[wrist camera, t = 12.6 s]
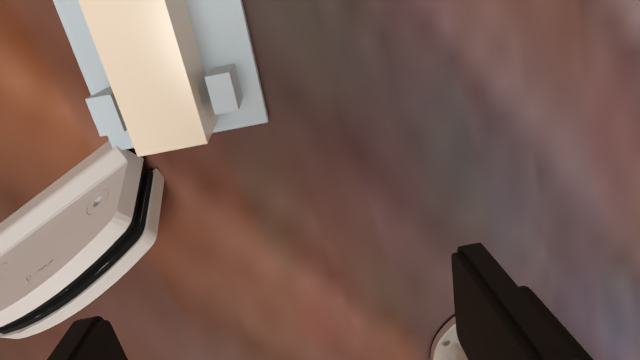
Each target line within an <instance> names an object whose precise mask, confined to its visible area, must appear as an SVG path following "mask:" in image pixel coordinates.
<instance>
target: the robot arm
mask: <svg viewBox="0 0 640 360" xmlns="http://www.w3.org/2000/svg"><path fill="white" fill-rule="evenodd" d="M452 273H453V289H454V304H455V316H454V317H453V318H452V319H451V320H449V321H448V322H447V323H446V324H445V325H444V326H443V327H442V329H441V330H440V331H439V332H438V334H437V336H436V337H435V339H434V341H433V344H432V348H431V356H430V358H431V360H593V359H592V358H591V356H590V355H589V354H588V353H587V352H586V351H585V350H584V349H583V347H582V346H581V345H580V344H579V343H578V342H577V341H576V340H575V338H574V337H573V336H572V335H571V334H570V333H569V332H568V331H567V329H566V328H565V327H564V326H563V325H562V324H561V323H560V322H559V320H558V319H557V318H556V317H555V316H554V315H553V314H552V313H551V312H550V310H549V309H548V308H547V307H546V306H545V305H544V304H543V303H542V301H541V300H540V299H539V298H538V297H537V296H536V295H535V294H534V292H533V291H532V290H531V289H529V288H528V287H526V286H520V287H518V286H517V285H516V284H515V282H514V281H513V280H512V279H511V278H510V277H509V275H508V274H507V273H506V272H505V271H504V269H503V268H502V267H501V266H500V265H499V264H498V262H497V261H496V260H495V259H494V258H493V257H492V255H491V254H490V253H489V252H488V251H487V250H486V248H485V247H484V246H483V245H482V244H481V243H475V244H470V245H464V246H459V247H458V250H457V253H453V254H452ZM47 360H128V359H127V357H126V355H125V353H124V351H123V349H122V347H121V345H120V342H119V340H118V338H117V336H116V334H115V332H114V330H113V328H112V325H111V324H110V322H109V321H107V320H104V319H103V318H102V317H100V316H96V317H91V318H86V319H80V320H77V321H75V322H74V323H73V324H72V325H71V327H70V328H69V329H68V331H67V332H66V334H65V335H64V336H63V338H62V339H61V341H60V342H59V344H58V345H57V346H56V348H55V349H54V351H53V352H52V354H51V355H50V356H49V358H48V359H47Z"/></svg>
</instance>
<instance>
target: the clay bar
mask: <svg viewBox="0 0 640 360" xmlns="http://www.w3.org/2000/svg"><path fill="white" fill-rule="evenodd" d="M78 1H79V4H80V7H81V9H82V12H83V14H84V17H85V20H86V22H87V25H88V28H89V30H90V33H91V36H92V38H93V41H94V43H95V46H96V49H97V51H98V54H99V57H100V59H101V62H102V64H103V67H104V70H105V72H106V75H107V78H108V80H109V83H110V86H111V88H112V91H113V93H114V96H115V99H116V101H117V104H118V107H119V109H120V112H121V114H122V117H123V120H124V122H125V125H126V128H127V130H128V133H129V136H130V138H131V141H132V143H133V146H134V149H135V151H136V154H137V157H140V156H145V155H150V154H156V153H161V152H166V151H171V150H176V149H182V148H187V147H192V146H197V145H203V144H207V143H208V141H209V139H210V137H211V135H212V133H213V131H214V128H215V126H216V124H217V122H218V118H217V115H215V113H214V110H213V106H212V103H211V99H210V96H209V92H208V88H207V85H206V81H205V78H204V77H205V76H206V75H205V71H204V68H203V64H202V61H201V57H200V53H199V50H198V46H197V43H196V39H195V36H194V32H193V28H192V25H191V21H190V18H189V14H188V11H187V7H186V3H185V0H78Z"/></svg>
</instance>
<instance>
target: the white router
mask: <svg viewBox="0 0 640 360" xmlns="http://www.w3.org/2000/svg"><path fill="white" fill-rule="evenodd" d="M143 161H144V158H142V157H137V155H136V154H134V153H132V152H130V151H128V150H127V149H125V150H122V149H120V148H119V147H118V146H117V145H116V146H115V147H114V148H112V146H111V143H110V141H108V142H106V143H105V144H104V145H102V146H101V147H100V148H99V149H97V150H96V151H95V152H93V153H92V154H91V155H89V156H88V157H87V158H85V159H84V160H83V161H81V162H80V163H79V164H78V165H76V166H75V167H74V168H72V169H71V170H70V171H68V172H67V173H66V174H64V175H63V176H62V177H60V178H59V179H58V180H56V181H55V182H54V183H53V184H51V185H50V186H49V187H47V188H46V189H45V190H43V191H42V192H41V193H39V194H38V195H37V196H35V197H34V198H33V199H31V200H30V201H29V202H28V203H26V204H25V205H24V206H22V207H21V208H20V209H18V210H17V211H16V212H14V213H13V214H12V215H10V216H9V217H8V218H7V219H5V220H4V221H3V222H1V223H0V337H1V338H14V339H20V338H24V337H28V336H31V335H34V334H37V333H40V332H42V331H44V330H46V329H49V328H51V327H53V326H54V325H56V324H58V323H60V322H62V321H64V320H65V319H67V318H69V317H70V316H72V315H73V314H75V313H76V312H78V311H80V310H81V309H82V308H84V307H85V306H86V305H88V304H89V303H91V302H92V301H93V300H95V299H96V298H97V297H98V296H100V295H101V294H102V293H103V292H105V291H106V290H107V289H108V288H109V287H110V286H112V285H113V284H114V283H115V282H116V281H117V280H119V279H120V278H121V277H122V276H123V275H124V274H125V273H126V272H127V271H128V270H129V269H130V268H131V267H132V266H133V265H134V264H135V263H136V262H137V261H138V260H139V259H140V258H141V257H142V256H143V255H144V254H145V253H146V252H147V251H148V250H149V249H150V248H151V247H152V245H153V244H154V242H155V240H156V238H157V233H158V225H159V218H160V210H161V202H162V195H163V187H164V180H165V179H164V177H163V176H162V174H161V173H160V172H159V170H158V169H157V168H156V169H154V170H153V171H151V170H150V169H149V170H148V171H146V172H145V173H144V169H145V165H143Z"/></svg>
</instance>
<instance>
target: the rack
mask: <svg viewBox="0 0 640 360" xmlns="http://www.w3.org/2000/svg"><path fill="white" fill-rule="evenodd" d="M53 2H54V4H55V7H56V9H57V12H58V14H59V17H60V19H61V22H62V24H63V27H64V29H65V32H66V34H67V36H68V39H69V41H70V44H71V46H72V49H73V51H74V54H75V56H76V59H77V61H78V64H79V66H80V69H81V71H82V74H83V76H84V79H85V81H86V84H87V86H88V89H89V91H90V94H91V96H90V97H88V98H86V99H85V100H86V103H87V105H88V108H89V110H90V113H91V115H92V117H93V120H94V122H95V125H96V127H97V130H98V132H99V135H100V136H106V135H107V136H108V139H109V141H110V143H111V146H112V148H114V147H115V146H116V145H117V146H118V147H119V148H120V149H122V150H125V149H130V148H134V146H133V143H132V141H131V138H130V136H129V133H128V130H127V128H126V125H125V122H124V120H123V117H122V114H121V112H120V109H119V107H118V104H117V101H116V99H115V96H114V93H113V91H112V88H111V86H110V83H109V80H108V78H107V75H106V72H105V70H104V67H103V64H102V62H101V59H100V57H99V54H98V51H97V49H96V46H95V43H94V41H93V38H92V36H91V33H90V30H89V28H88V25H87V22H86V20H85V17H84V14H83V12H82V9H81V7H80V4H79V1H78V0H53ZM185 3H186V7H187V11H188V14H189V18H190V21H191V25H192V28H193V32H194V36H195V39H196V43H197V46H198V50H199V53H200V57H201V61H202V64H203V68H204V71H205V75H206V76H205V77H204V78H205V81H206V85H207V88H208V92H209V96H210V99H211V103H212V106H213V110H214V113H215V115H217V118H218V122H217V124H216V126H215V128H214V131H213V133H215V132H220V131H225V130H230V129H236V128H241V127H246V126H252V125H257V124H262V123H267V122H268V114H267V109H266V105H265V100H264V96H263V91H262V87H261V83H260V78H259V74H258V69H257V65H256V60H255V56H254V51H253V47H252V42H251V38H250V34H249V29H248V25H247V20H246V16H245V11H244V7H243V2H242V0H185Z"/></svg>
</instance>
